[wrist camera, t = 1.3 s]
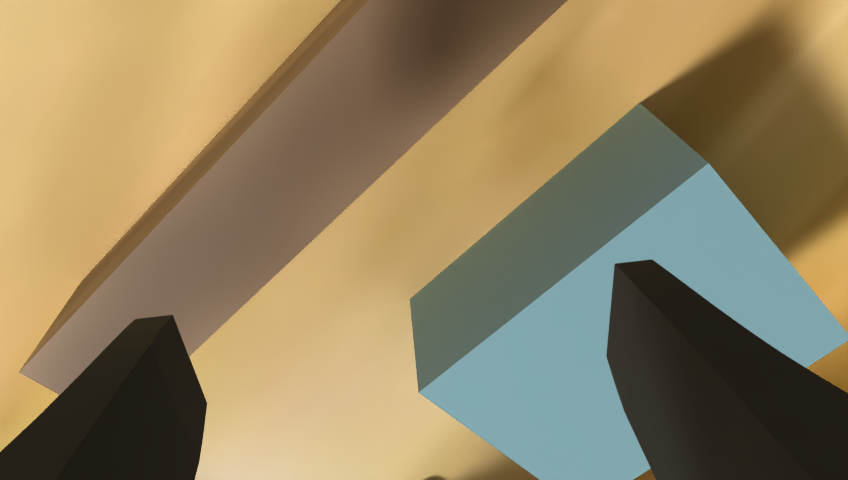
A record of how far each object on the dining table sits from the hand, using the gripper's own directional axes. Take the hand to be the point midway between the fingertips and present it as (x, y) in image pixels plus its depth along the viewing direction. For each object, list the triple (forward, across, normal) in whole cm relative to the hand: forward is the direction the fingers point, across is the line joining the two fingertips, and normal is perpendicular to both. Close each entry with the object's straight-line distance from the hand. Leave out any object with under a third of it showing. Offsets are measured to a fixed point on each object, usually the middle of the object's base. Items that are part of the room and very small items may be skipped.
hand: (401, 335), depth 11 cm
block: (+10, -6, +7) cm, 14 cm away
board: (+10, 0, -1) cm, 11 cm away
